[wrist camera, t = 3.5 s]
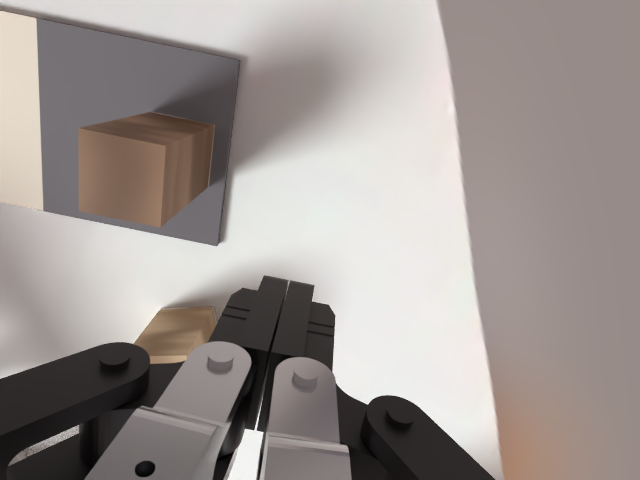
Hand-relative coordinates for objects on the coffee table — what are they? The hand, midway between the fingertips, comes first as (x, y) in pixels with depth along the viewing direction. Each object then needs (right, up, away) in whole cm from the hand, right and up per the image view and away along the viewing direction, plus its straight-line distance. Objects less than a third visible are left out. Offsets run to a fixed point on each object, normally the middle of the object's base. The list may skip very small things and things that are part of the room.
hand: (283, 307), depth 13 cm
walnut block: (-8, +8, +15) cm, 19 cm away
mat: (-14, +9, +16) cm, 23 cm away
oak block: (-9, -5, +21) cm, 23 cm away
